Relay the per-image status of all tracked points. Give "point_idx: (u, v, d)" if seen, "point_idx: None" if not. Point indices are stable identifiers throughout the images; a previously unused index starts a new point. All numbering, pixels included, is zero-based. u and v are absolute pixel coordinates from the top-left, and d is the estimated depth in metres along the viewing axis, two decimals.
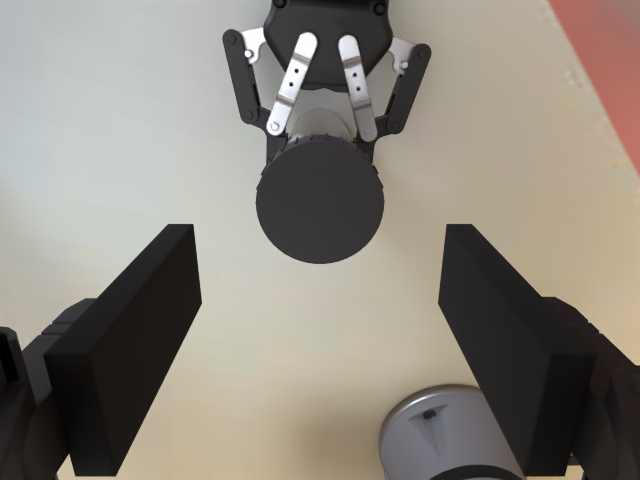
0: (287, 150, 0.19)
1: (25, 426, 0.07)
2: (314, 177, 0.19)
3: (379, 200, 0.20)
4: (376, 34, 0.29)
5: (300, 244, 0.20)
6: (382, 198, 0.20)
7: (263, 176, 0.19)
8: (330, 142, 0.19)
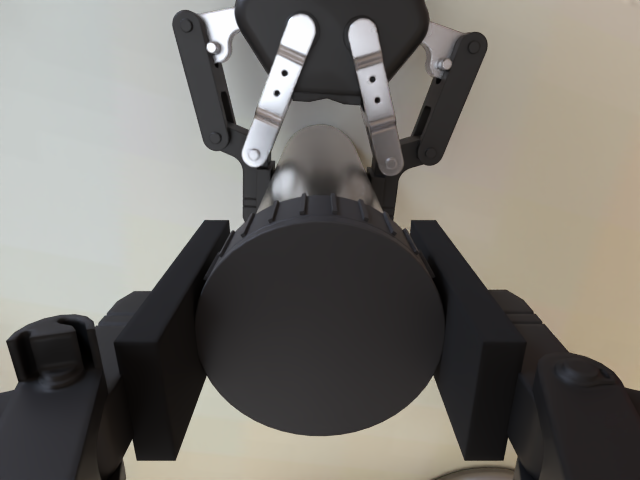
0: (253, 238, 0.09)
1: (99, 412, 0.07)
2: (308, 289, 0.10)
3: (437, 330, 0.10)
4: (405, 18, 0.19)
5: (282, 404, 0.11)
6: (443, 326, 0.10)
7: (206, 287, 0.10)
8: (341, 223, 0.09)
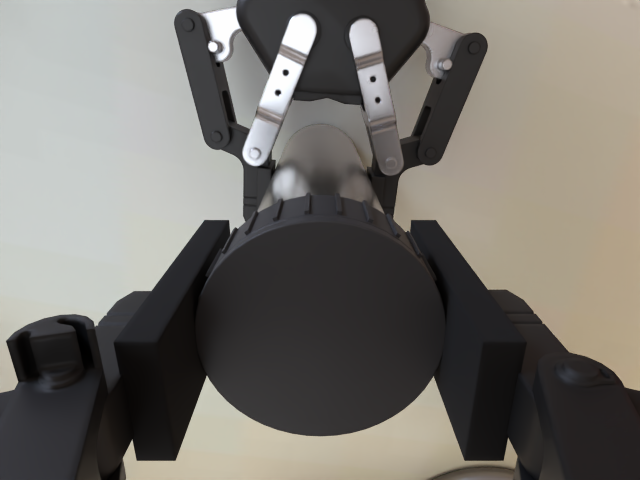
0: (224, 395, 0.11)
1: (99, 413, 0.07)
2: (265, 352, 0.10)
3: (297, 232, 0.09)
4: (406, 18, 0.19)
5: (403, 366, 0.10)
6: (291, 226, 0.09)
7: (275, 427, 0.11)
8: (196, 330, 0.10)
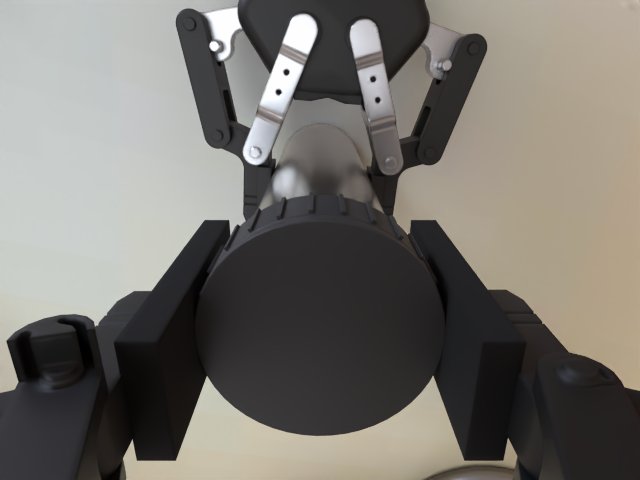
0: (393, 413, 0.11)
1: (100, 412, 0.07)
2: (339, 383, 0.11)
3: (210, 365, 0.10)
4: (406, 19, 0.19)
5: (346, 258, 0.09)
6: (205, 369, 0.10)
7: (433, 370, 0.10)
8: (321, 433, 0.11)
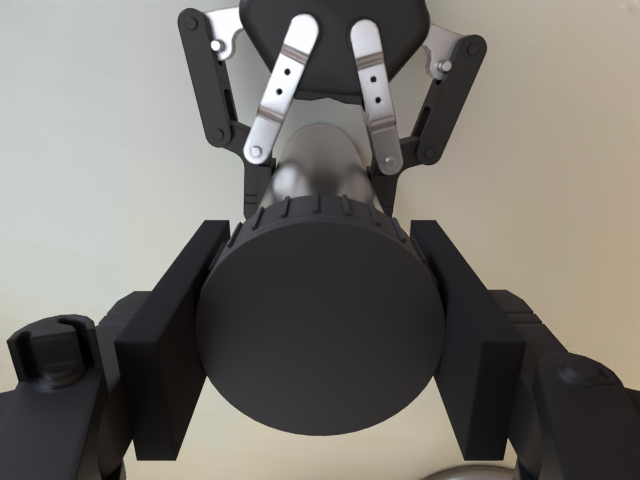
0: (414, 258, 0.09)
1: (100, 412, 0.07)
2: (373, 317, 0.10)
3: (357, 425, 0.11)
4: (406, 19, 0.19)
5: (229, 324, 0.10)
6: (362, 428, 0.11)
7: (351, 226, 0.09)
8: (444, 326, 0.10)
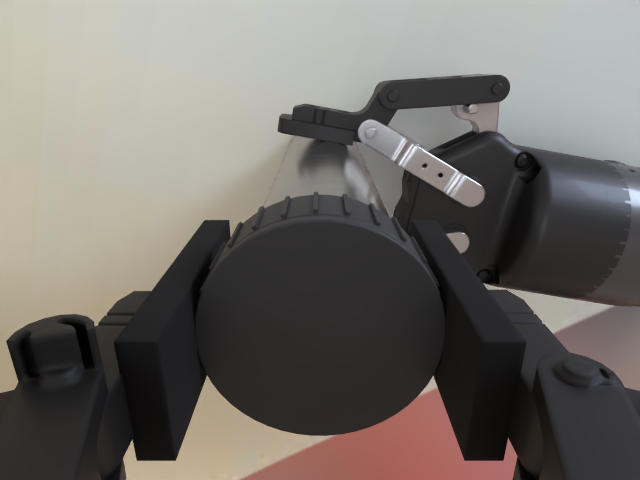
0: (414, 258, 0.09)
1: (100, 412, 0.07)
2: (373, 317, 0.10)
3: (357, 424, 0.11)
4: None
5: (229, 324, 0.10)
6: (363, 428, 0.11)
7: (351, 225, 0.09)
8: (444, 326, 0.10)
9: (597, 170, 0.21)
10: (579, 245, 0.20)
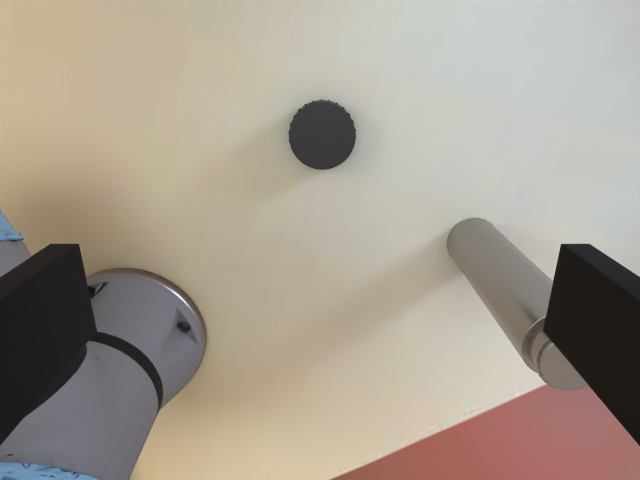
0: (345, 112, 0.37)
1: None
2: (336, 129, 0.38)
3: (333, 165, 0.39)
4: None
5: (298, 132, 0.38)
6: (334, 166, 0.39)
7: (329, 103, 0.37)
8: (354, 132, 0.38)
9: None
10: None
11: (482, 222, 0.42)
